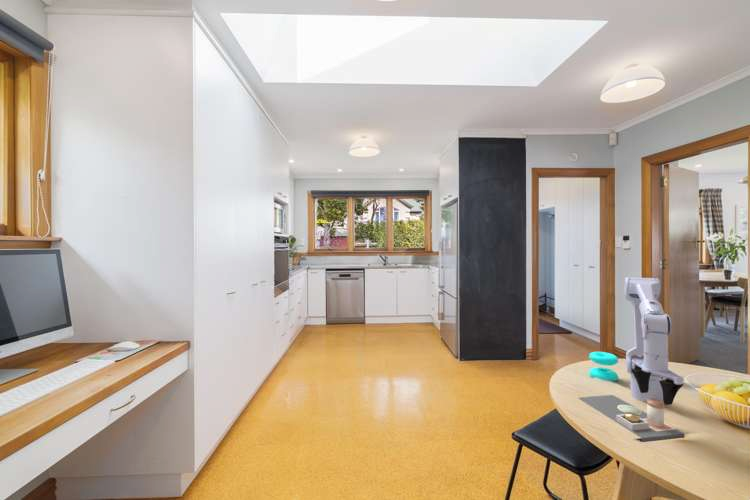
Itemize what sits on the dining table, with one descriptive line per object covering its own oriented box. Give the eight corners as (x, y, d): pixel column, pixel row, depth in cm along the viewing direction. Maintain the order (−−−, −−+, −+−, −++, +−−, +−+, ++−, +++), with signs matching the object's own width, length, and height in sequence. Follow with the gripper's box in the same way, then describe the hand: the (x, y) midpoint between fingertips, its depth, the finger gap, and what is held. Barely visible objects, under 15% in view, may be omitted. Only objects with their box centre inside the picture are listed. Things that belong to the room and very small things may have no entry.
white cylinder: (655, 420, 104) (655, 397, 104) (667, 427, 100) (667, 404, 100) (643, 421, 103) (643, 398, 103) (655, 428, 99) (655, 405, 99)
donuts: (611, 360, 132) (584, 353, 141) (611, 385, 132) (584, 376, 141) (622, 355, 137) (596, 349, 146) (622, 379, 138) (596, 371, 146)
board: (612, 398, 122) (612, 390, 121) (684, 437, 97) (684, 427, 97) (577, 401, 120) (577, 392, 120) (641, 442, 95) (641, 431, 95)
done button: (632, 417, 104) (632, 411, 104) (642, 424, 100) (642, 417, 100) (621, 418, 103) (621, 412, 103) (632, 425, 100) (632, 418, 100)
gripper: (623, 347, 108) (623, 388, 108) (667, 363, 94) (667, 410, 94) (642, 345, 109) (642, 387, 109) (689, 361, 94) (689, 408, 95)
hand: (655, 398), depth 102 cm, fingers open, 7 cm apart
